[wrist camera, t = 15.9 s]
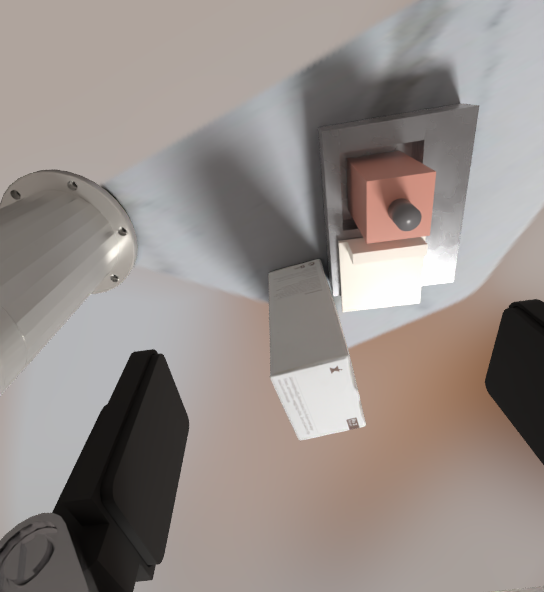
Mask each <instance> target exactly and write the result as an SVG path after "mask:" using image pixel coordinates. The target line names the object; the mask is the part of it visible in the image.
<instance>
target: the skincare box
mask: <svg viewBox="0 0 544 592" xmlns="http://www.w3.org/2000/svg"><path fill="white" fill-rule="evenodd" d="M268 284H269V325H270V371H271V372H270V379H271V381H272V383H273V385H274V387H275V390H276V392H277V394H278V397H279V399H280V401H281V403H282V406H283V408H284V410H285V412H286V414H287V416H288V418H289V421H290V422H291V425H292V427H293V429H294V431H295V433H296V435H297V437H298V439H299V440H304V439H310V438H315V437H319V436H323V435H328V434H333V433H337V432H342V431H347V430H351V429H355V428H360V427H364V426H366V423H365V419H364V415H363V410H362V406H361V402H360V396H359V393H358V389H357V385H356V380H355V376H354V372H353V367H352V363H351V360H350V355H349V351H348V348H347V344H346V340H345V337H344V333H343V330H342V326H341V323H340V319H339V316H338V312H337V309H336V306H335V303H334V300H333V297H332V294H331V291H330V288H329V285H328V282H327V279H326V276H325V273H324V269H323V266H322V262H321V259H316V260H312V261H309V262H306V263H302V264H298V265H294V266H290V267H286V268H283V269H279V270H275V271H272V272H270V273H269V274H268Z"/></svg>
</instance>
